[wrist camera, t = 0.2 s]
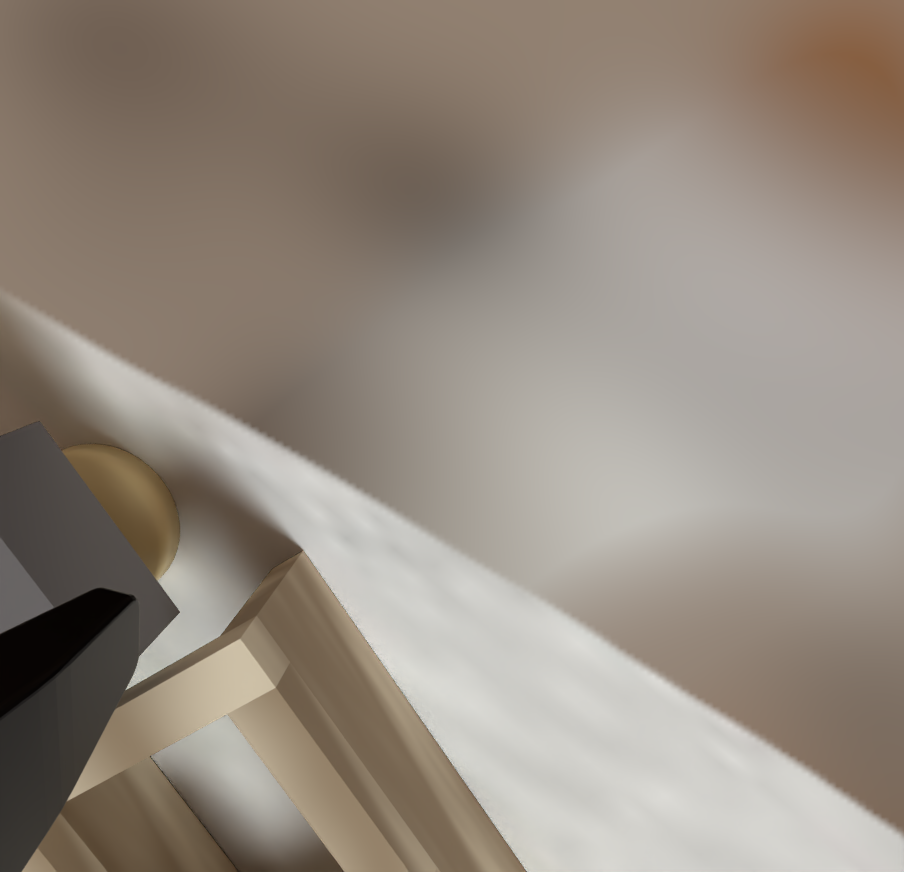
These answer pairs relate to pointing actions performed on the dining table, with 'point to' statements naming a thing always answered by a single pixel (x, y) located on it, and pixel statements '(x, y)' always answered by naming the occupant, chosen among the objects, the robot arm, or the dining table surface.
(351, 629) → the keyhole board
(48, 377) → the dining table surface
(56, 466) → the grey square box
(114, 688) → the robot arm
